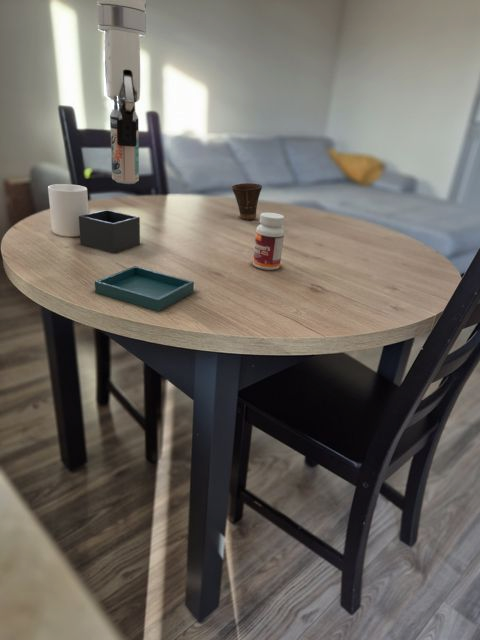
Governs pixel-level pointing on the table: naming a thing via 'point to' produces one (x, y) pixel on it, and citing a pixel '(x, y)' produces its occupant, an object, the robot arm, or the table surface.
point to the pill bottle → (269, 241)
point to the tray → (144, 287)
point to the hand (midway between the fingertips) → (124, 142)
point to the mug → (67, 208)
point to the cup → (247, 199)
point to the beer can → (124, 155)
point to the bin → (109, 230)
